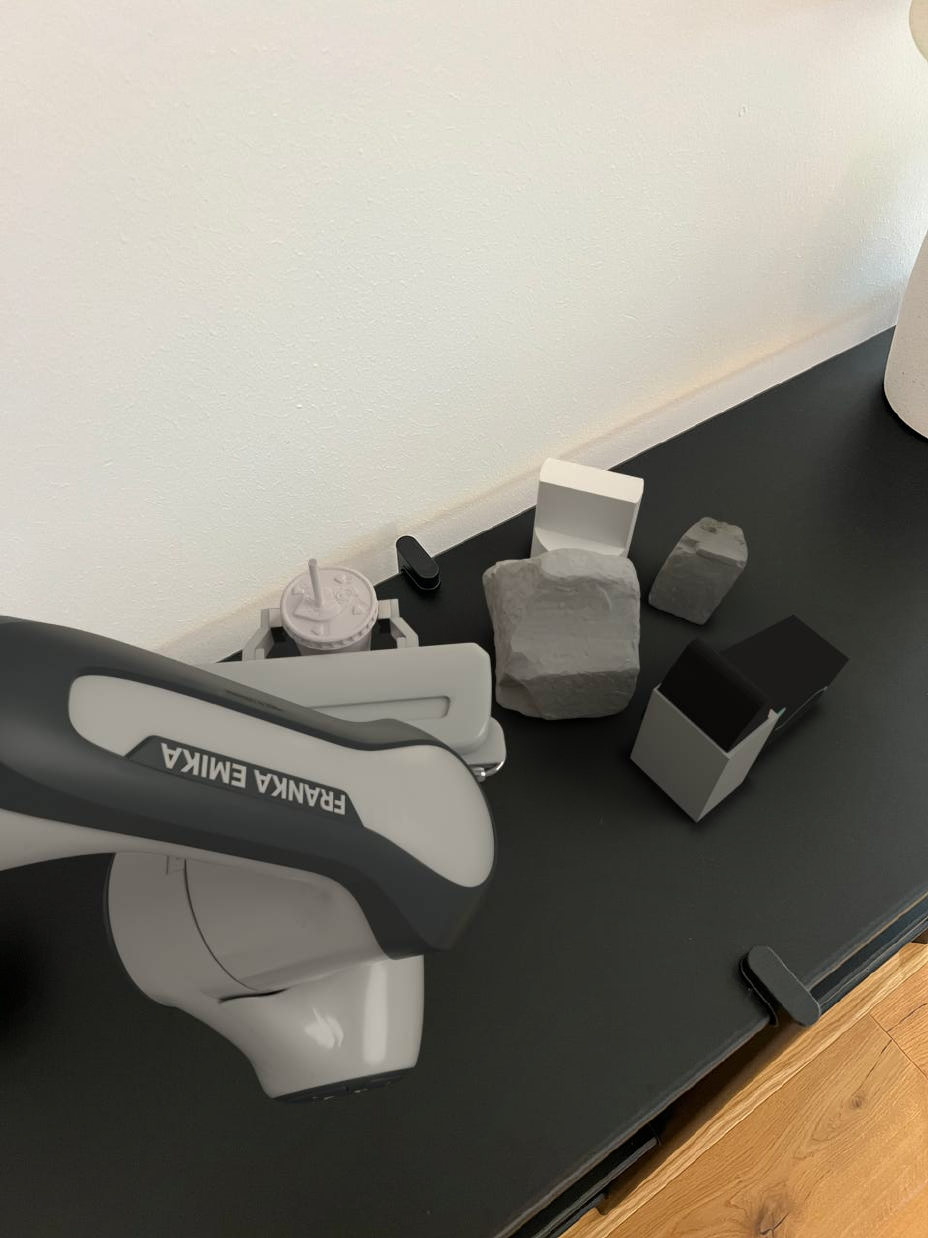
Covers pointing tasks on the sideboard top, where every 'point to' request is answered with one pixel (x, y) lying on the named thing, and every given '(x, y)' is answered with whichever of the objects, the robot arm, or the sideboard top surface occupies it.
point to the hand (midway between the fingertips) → (330, 608)
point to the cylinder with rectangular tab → (585, 509)
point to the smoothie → (329, 610)
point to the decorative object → (729, 709)
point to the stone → (565, 633)
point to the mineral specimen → (700, 570)
